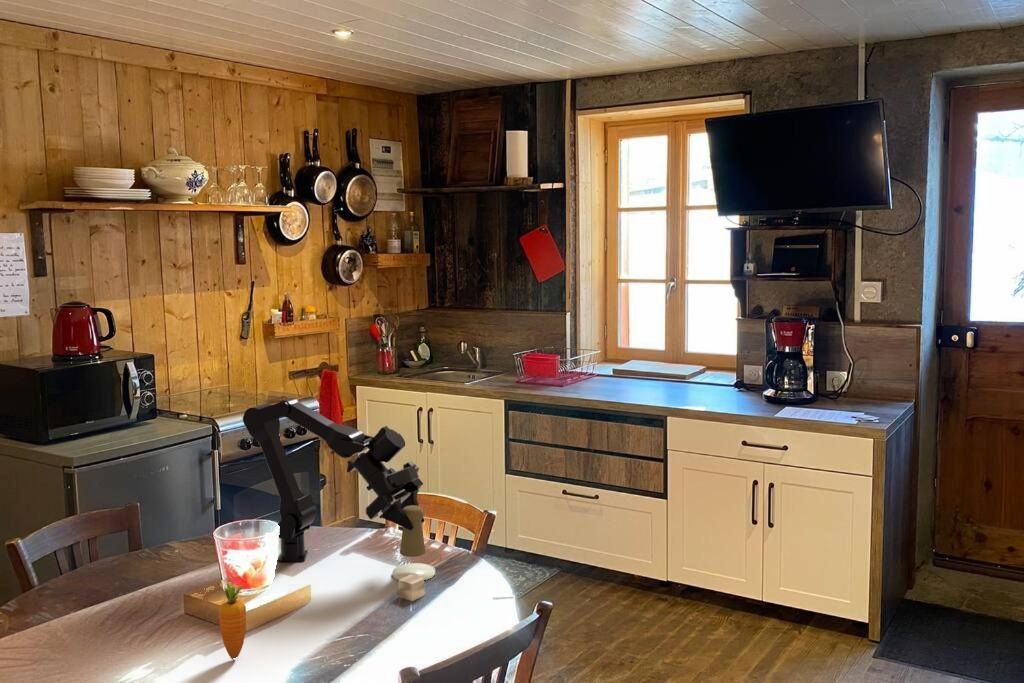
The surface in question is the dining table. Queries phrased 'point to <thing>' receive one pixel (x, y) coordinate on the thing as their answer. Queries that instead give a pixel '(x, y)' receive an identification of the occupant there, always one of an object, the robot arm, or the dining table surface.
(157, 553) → the dining table surface
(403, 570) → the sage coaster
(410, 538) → the pepper mill
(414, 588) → the marked birch block
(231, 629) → the carrot
